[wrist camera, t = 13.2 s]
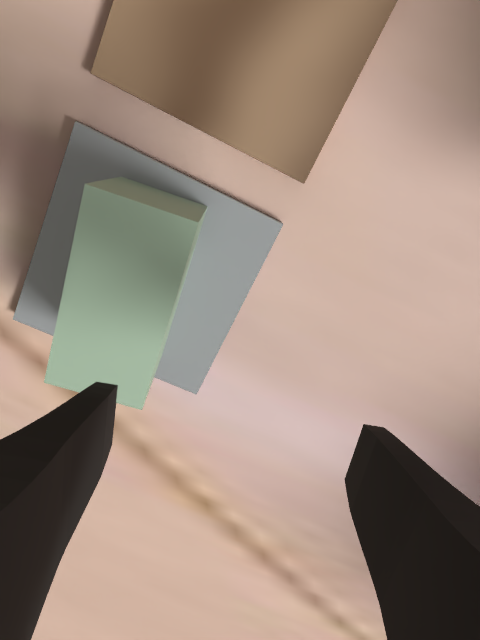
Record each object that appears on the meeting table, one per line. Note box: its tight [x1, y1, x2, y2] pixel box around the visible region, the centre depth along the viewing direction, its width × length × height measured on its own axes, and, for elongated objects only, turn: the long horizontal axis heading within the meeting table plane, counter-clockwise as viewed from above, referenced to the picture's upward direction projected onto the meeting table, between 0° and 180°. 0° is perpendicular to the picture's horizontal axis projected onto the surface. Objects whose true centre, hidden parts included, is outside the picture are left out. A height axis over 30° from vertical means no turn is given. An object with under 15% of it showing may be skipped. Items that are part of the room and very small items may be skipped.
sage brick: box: [44, 177, 208, 410], centre depth 18 cm, size 4×8×5 cm, turn 161°
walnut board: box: [91, 0, 397, 183], centre depth 17 cm, size 10×10×1 cm
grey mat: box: [13, 121, 283, 394], centre depth 21 cm, size 10×10×1 cm
